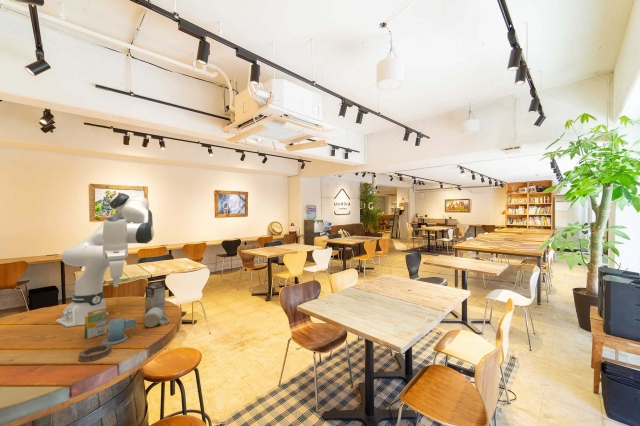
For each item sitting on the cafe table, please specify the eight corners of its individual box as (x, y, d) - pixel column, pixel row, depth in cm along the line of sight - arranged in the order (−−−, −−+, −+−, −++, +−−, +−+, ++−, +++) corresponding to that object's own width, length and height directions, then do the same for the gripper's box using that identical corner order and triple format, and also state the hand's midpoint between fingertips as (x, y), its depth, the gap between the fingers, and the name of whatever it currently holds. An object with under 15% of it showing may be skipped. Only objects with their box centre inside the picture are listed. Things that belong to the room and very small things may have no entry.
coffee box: (144, 316, 144) (144, 286, 145) (156, 312, 150) (157, 284, 150) (152, 319, 139) (153, 288, 140) (165, 315, 145) (165, 286, 145)
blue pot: (108, 343, 111) (108, 323, 111) (107, 338, 115) (107, 320, 115) (135, 336, 117) (136, 318, 117) (134, 332, 121) (134, 314, 122)
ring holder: (73, 359, 99) (73, 353, 99) (100, 347, 108) (100, 342, 108) (89, 363, 96) (89, 357, 96) (116, 351, 105) (116, 346, 105)
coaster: (96, 343, 112) (96, 342, 112) (118, 335, 120) (118, 333, 120) (110, 347, 109) (110, 345, 109) (132, 337, 117) (132, 336, 117)
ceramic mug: (142, 329, 126) (142, 313, 127) (146, 323, 134) (146, 307, 134) (167, 326, 130) (167, 310, 130) (170, 320, 138) (170, 305, 138)
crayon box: (103, 331, 124) (104, 306, 124) (106, 333, 122) (107, 307, 123) (84, 337, 117) (84, 311, 118) (87, 339, 116) (87, 312, 116)
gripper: (106, 251, 124) (106, 280, 124) (106, 257, 108) (107, 290, 108) (123, 249, 128) (123, 278, 128) (125, 255, 112) (126, 287, 112)
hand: (115, 284), depth 118 cm, fingers open, 8 cm apart
